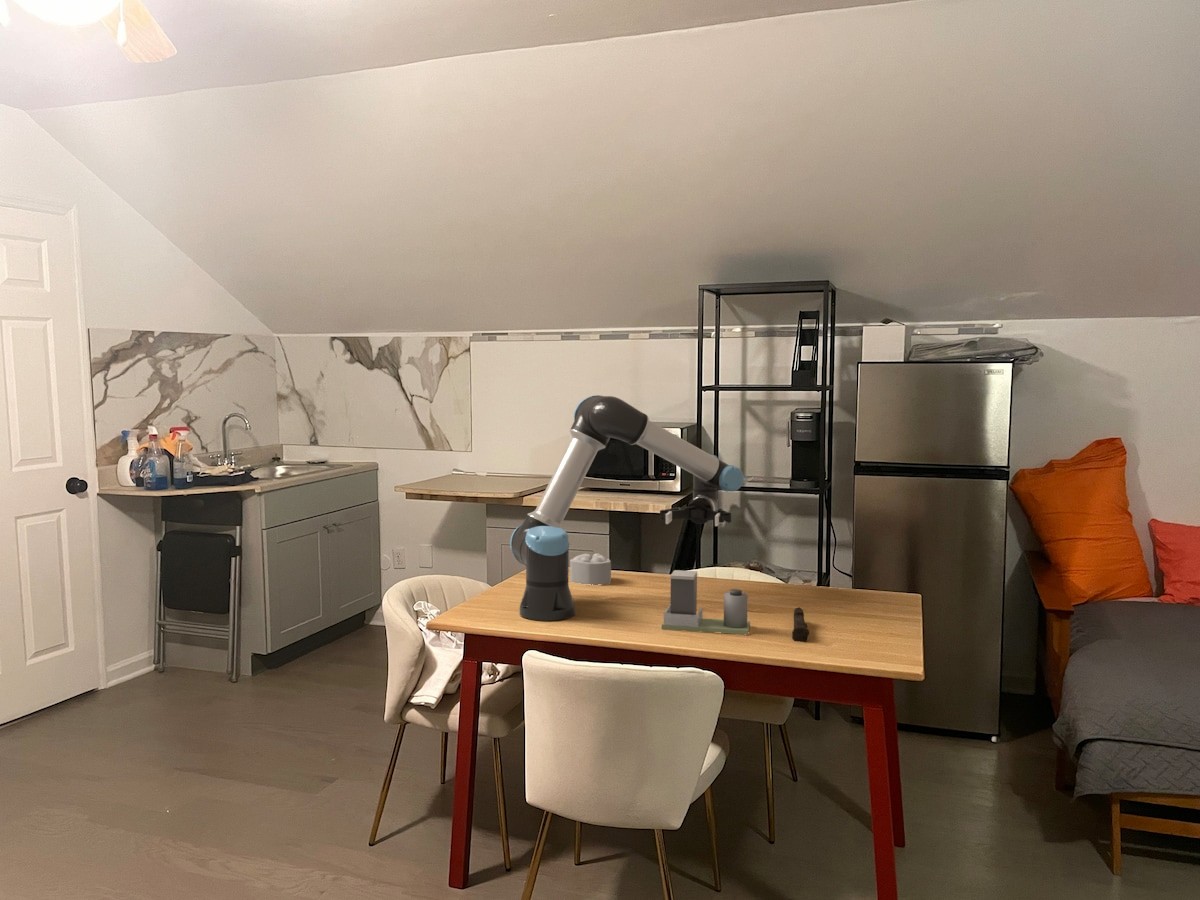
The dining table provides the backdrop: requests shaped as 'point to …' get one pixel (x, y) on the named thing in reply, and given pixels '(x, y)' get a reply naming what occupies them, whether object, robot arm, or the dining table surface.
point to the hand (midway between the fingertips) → (691, 520)
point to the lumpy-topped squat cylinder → (590, 569)
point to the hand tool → (799, 626)
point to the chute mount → (683, 618)
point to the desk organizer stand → (725, 616)
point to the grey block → (683, 592)
